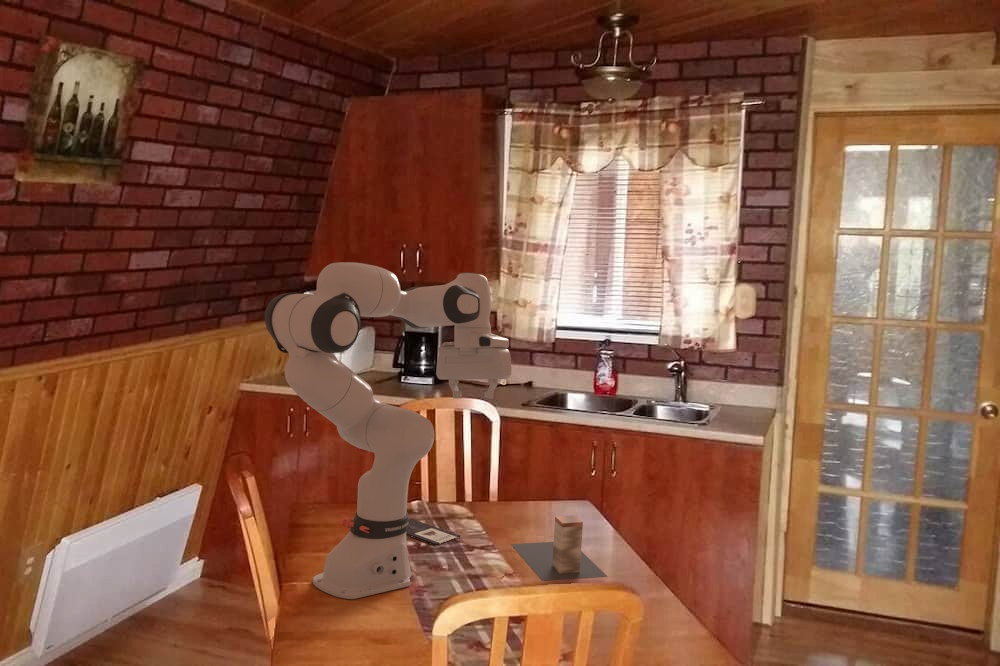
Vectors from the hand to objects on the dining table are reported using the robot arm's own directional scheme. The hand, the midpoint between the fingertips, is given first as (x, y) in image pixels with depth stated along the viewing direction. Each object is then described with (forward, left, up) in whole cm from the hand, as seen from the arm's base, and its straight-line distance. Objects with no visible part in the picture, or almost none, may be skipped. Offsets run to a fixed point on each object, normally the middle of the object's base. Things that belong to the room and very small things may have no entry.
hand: (473, 398), depth 218 cm
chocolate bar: (+2, +17, -39) cm, 43 cm away
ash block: (+9, -24, -38) cm, 45 cm away
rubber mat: (+12, -19, -38) cm, 44 cm away
